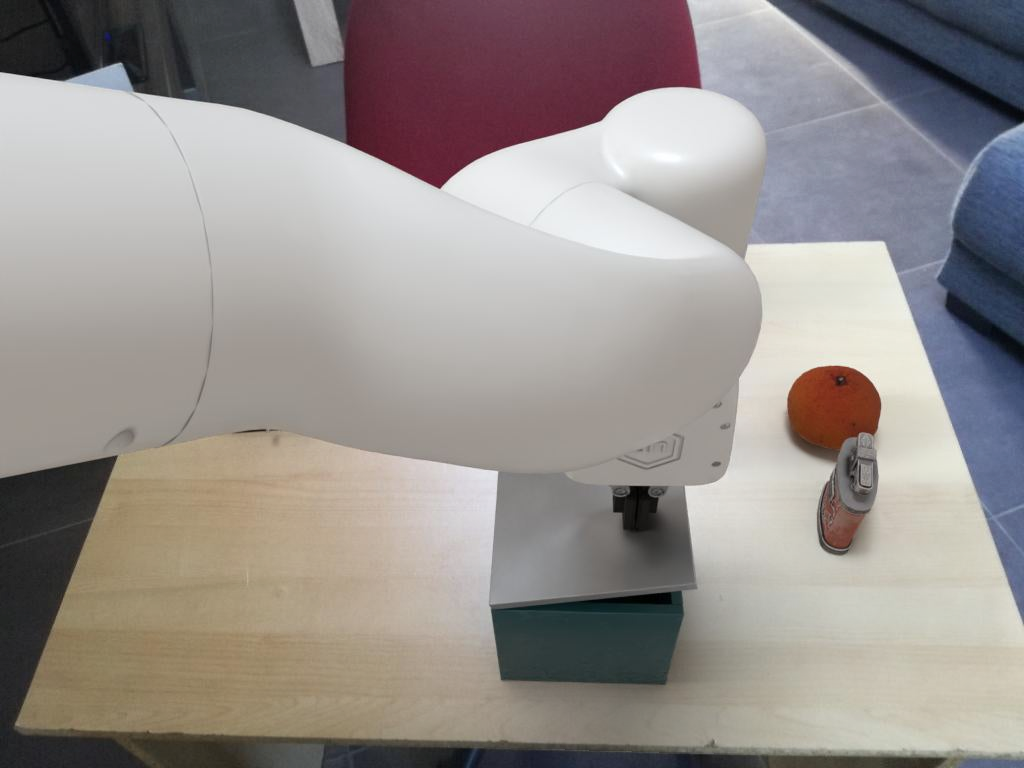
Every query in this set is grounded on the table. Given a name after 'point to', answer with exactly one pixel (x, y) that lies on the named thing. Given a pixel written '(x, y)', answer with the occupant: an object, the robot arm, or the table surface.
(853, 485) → the lighter
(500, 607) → the box lid
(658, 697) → the table surface
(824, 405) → the fruit
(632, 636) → the teal box
